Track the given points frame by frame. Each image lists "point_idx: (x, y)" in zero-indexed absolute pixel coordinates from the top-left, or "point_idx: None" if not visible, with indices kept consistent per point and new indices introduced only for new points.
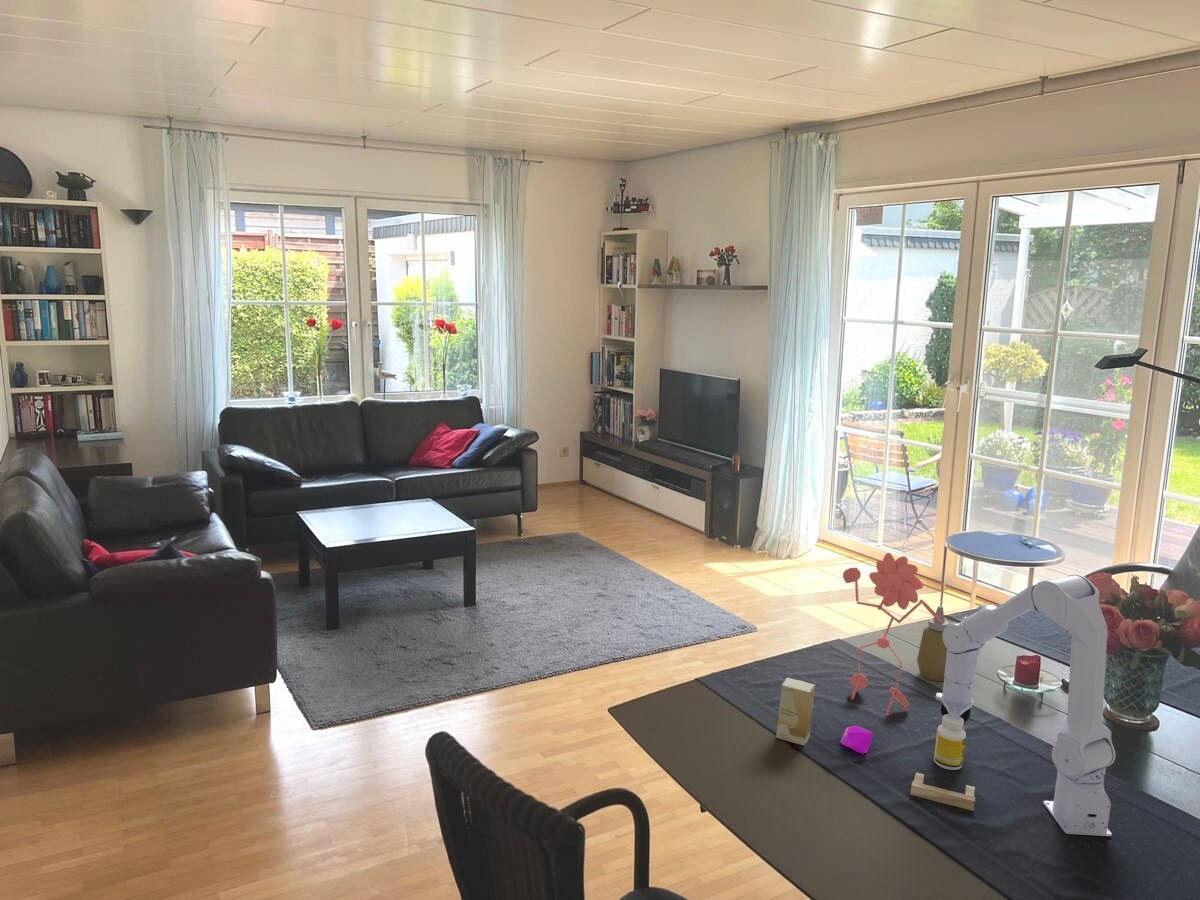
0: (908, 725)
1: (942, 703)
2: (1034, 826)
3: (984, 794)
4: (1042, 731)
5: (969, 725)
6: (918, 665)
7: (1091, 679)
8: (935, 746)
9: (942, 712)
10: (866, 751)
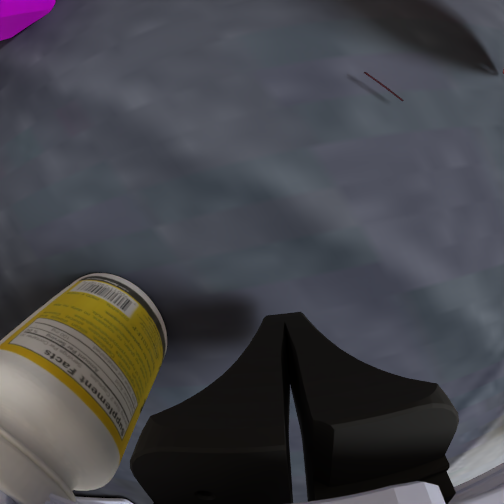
0: (366, 73)
1: (386, 423)
2: None
3: None
4: (484, 453)
5: (496, 326)
6: None
7: None
8: (50, 302)
9: (141, 438)
10: (3, 38)
